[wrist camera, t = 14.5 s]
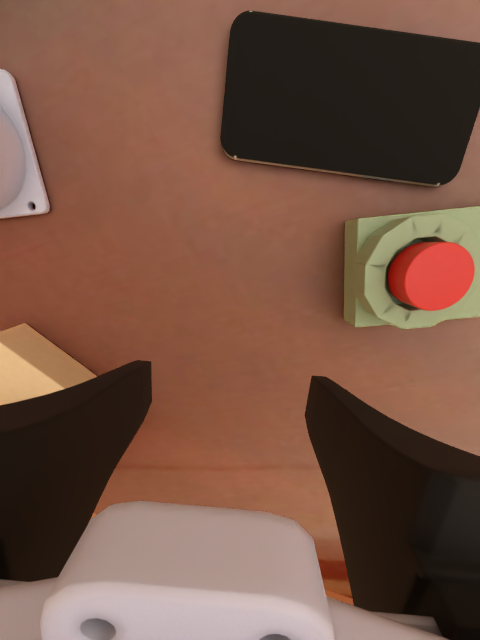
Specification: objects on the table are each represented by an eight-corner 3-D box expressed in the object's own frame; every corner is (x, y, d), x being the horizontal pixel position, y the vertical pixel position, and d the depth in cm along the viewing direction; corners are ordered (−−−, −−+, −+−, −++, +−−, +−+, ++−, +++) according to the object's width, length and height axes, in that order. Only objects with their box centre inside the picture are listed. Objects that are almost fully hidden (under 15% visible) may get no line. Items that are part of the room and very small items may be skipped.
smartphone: (232, 5, 14) (500, 43, 14) (232, 16, 15) (489, 52, 15) (218, 156, 16) (454, 187, 16) (219, 159, 17) (446, 190, 17)
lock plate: (-27, 395, 22) (-70, 419, 19) (25, 322, 20) (-14, 335, 17) (90, 472, 24) (68, 504, 21) (147, 412, 23) (131, 438, 19)
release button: (385, 306, 16) (401, 314, 14) (388, 245, 15) (406, 245, 13) (446, 301, 16) (470, 308, 14) (453, 239, 15) (481, 238, 13)
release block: (339, 319, 20) (362, 337, 16) (340, 222, 18) (366, 215, 14) (479, 307, 19) (537, 322, 16) (495, 206, 17) (566, 195, 14)
